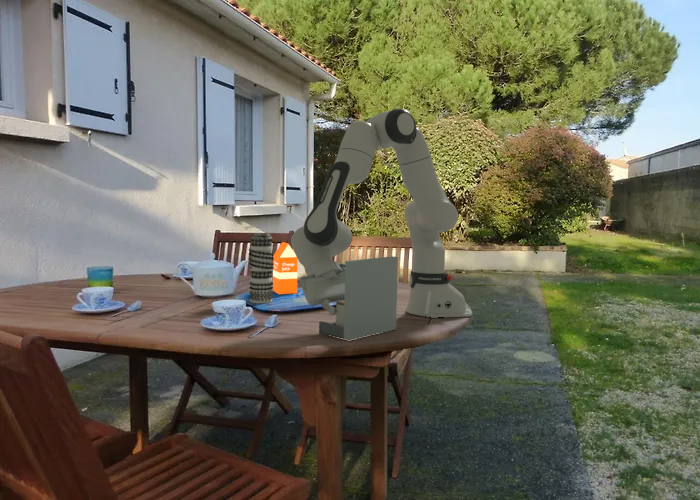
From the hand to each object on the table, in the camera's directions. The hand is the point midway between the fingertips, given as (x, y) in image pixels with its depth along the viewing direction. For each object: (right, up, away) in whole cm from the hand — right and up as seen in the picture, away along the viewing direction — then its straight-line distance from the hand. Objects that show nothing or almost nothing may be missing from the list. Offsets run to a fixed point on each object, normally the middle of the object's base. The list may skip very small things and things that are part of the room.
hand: (346, 311), depth 161 cm
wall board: (+3, -6, +3) cm, 8 cm away
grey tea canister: (+1, -6, 0) cm, 6 cm away
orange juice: (-25, +1, +66) cm, 71 cm away
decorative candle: (-32, -1, +46) cm, 56 cm away
